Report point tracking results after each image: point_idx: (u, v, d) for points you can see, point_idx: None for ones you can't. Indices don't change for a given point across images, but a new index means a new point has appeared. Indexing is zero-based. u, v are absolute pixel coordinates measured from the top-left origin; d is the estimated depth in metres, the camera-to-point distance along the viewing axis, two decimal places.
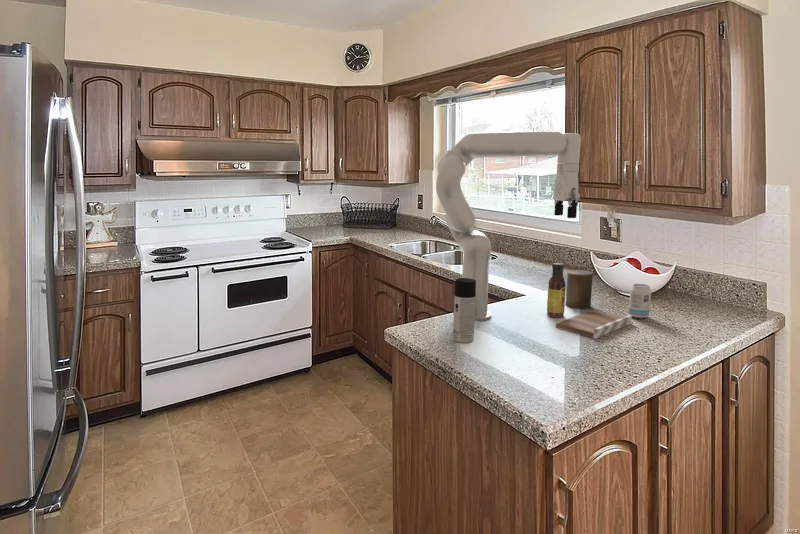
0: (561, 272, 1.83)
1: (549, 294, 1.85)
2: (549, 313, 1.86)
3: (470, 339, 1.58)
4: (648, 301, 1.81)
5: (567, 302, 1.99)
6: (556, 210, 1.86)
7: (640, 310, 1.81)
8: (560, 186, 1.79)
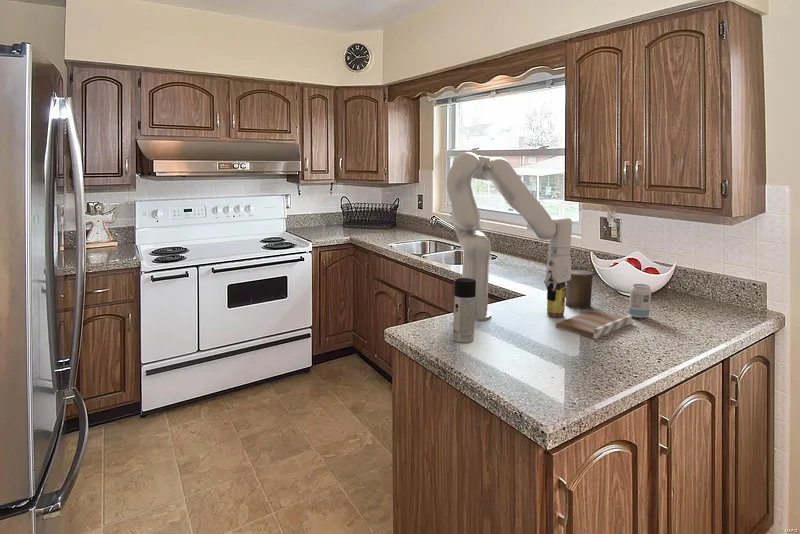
0: None
1: None
2: (549, 313, 1.86)
3: (470, 339, 1.58)
4: (648, 301, 1.81)
5: (567, 302, 1.99)
6: None
7: (640, 310, 1.81)
8: (566, 268, 1.82)
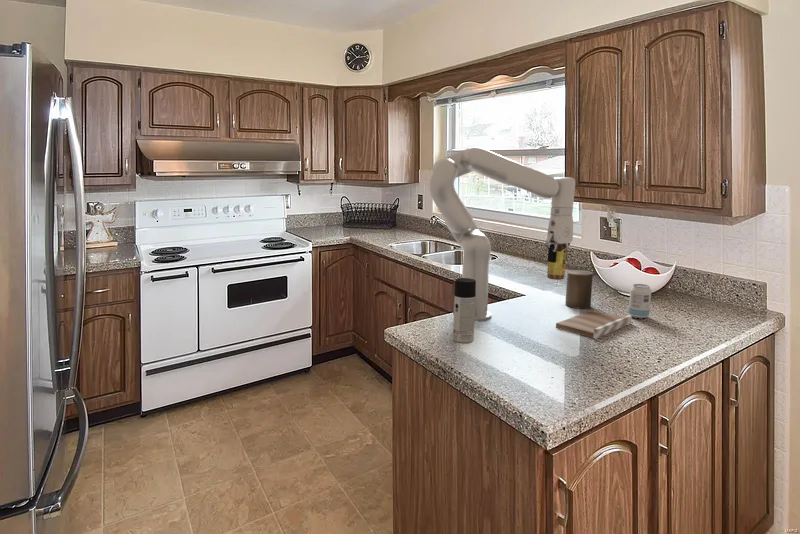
0: None
1: None
2: (549, 275, 1.83)
3: (470, 339, 1.58)
4: (648, 301, 1.81)
5: (567, 302, 1.99)
6: None
7: (640, 310, 1.81)
8: (567, 229, 1.79)
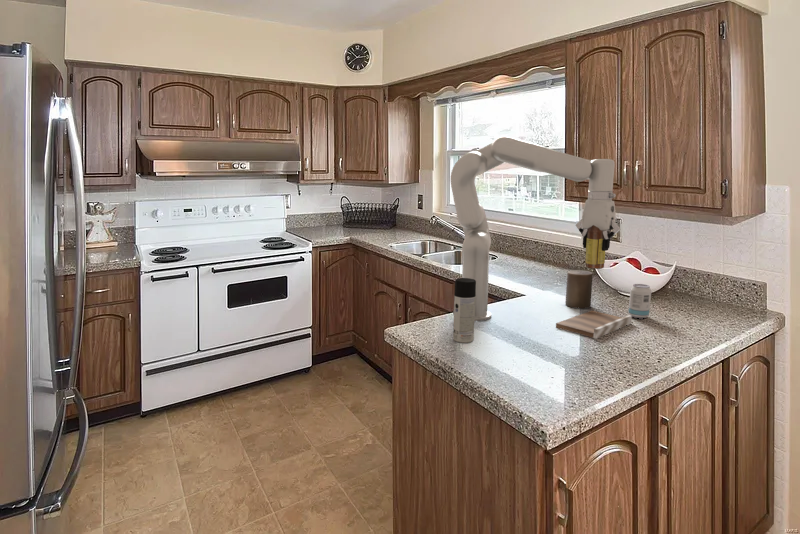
0: None
1: None
2: (601, 265, 1.70)
3: (470, 339, 1.58)
4: (648, 301, 1.81)
5: (567, 302, 1.99)
6: None
7: (640, 310, 1.81)
8: None
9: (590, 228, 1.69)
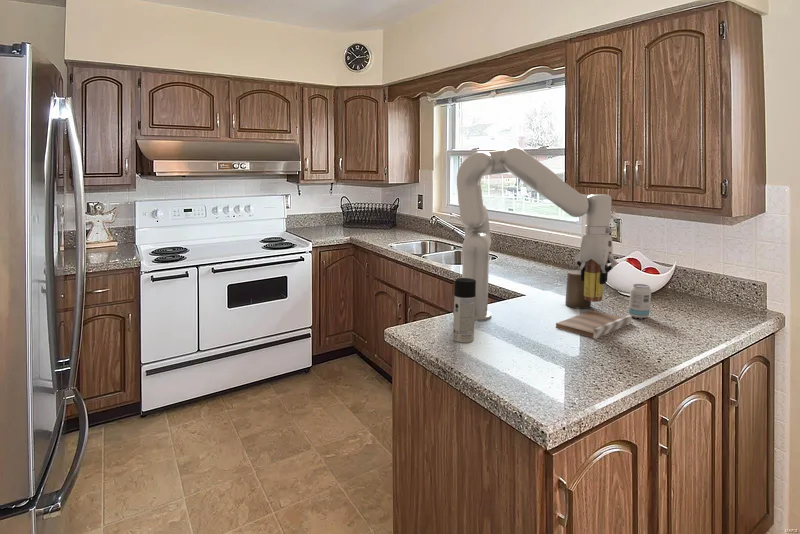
0: None
1: (599, 278, 1.70)
2: (599, 298, 1.72)
3: (470, 339, 1.58)
4: (648, 301, 1.81)
5: (567, 302, 1.99)
6: None
7: (640, 310, 1.81)
8: None
9: (588, 262, 1.71)
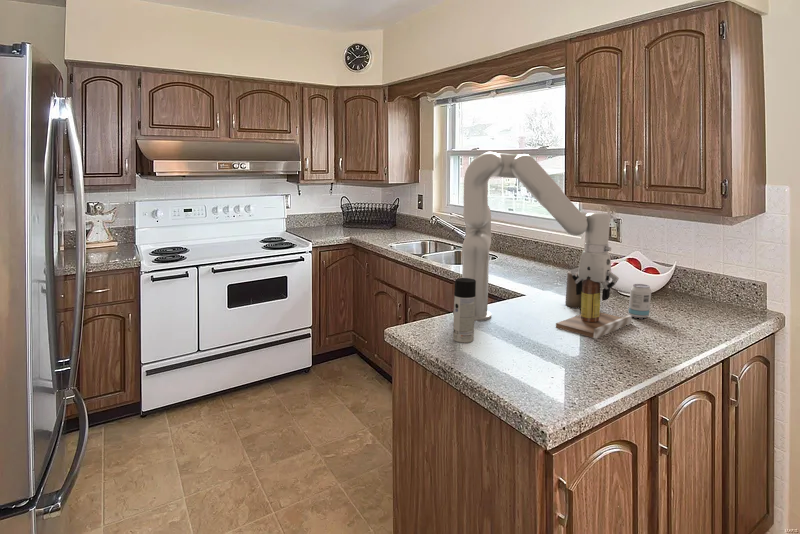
0: None
1: (596, 299, 1.72)
2: (596, 319, 1.74)
3: (470, 339, 1.58)
4: (648, 301, 1.81)
5: (567, 302, 1.99)
6: None
7: (640, 310, 1.81)
8: None
9: (585, 283, 1.73)
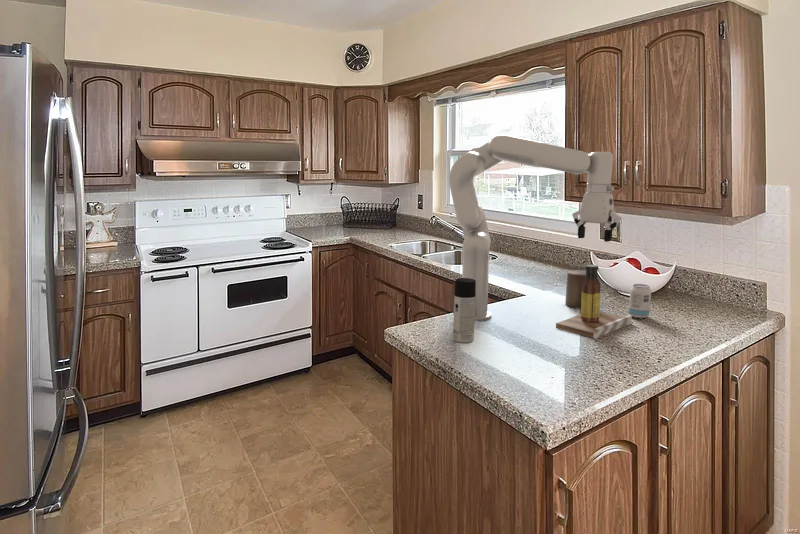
0: None
1: (596, 299, 1.72)
2: (596, 319, 1.74)
3: (470, 339, 1.58)
4: (648, 301, 1.81)
5: (567, 302, 1.99)
6: None
7: (640, 310, 1.81)
8: None
9: (585, 283, 1.73)
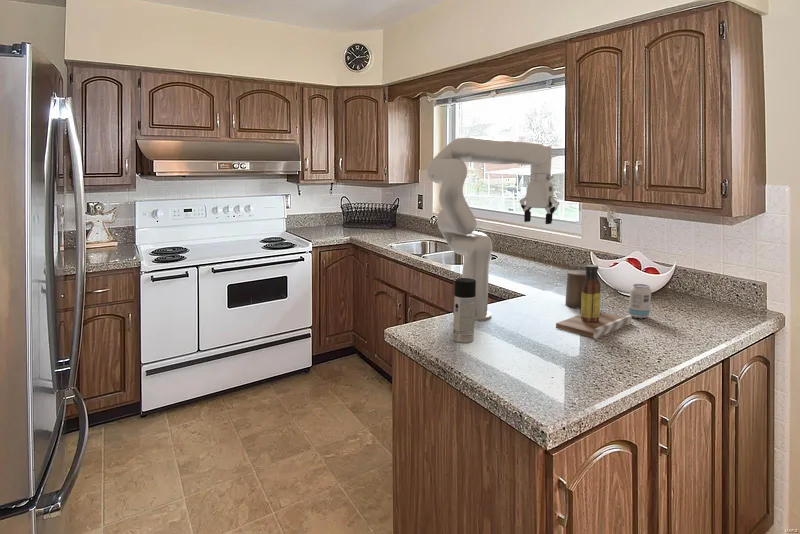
0: None
1: (596, 299, 1.72)
2: (596, 319, 1.74)
3: (470, 339, 1.58)
4: (648, 301, 1.81)
5: (567, 302, 1.99)
6: None
7: (640, 310, 1.81)
8: None
9: (585, 283, 1.73)
